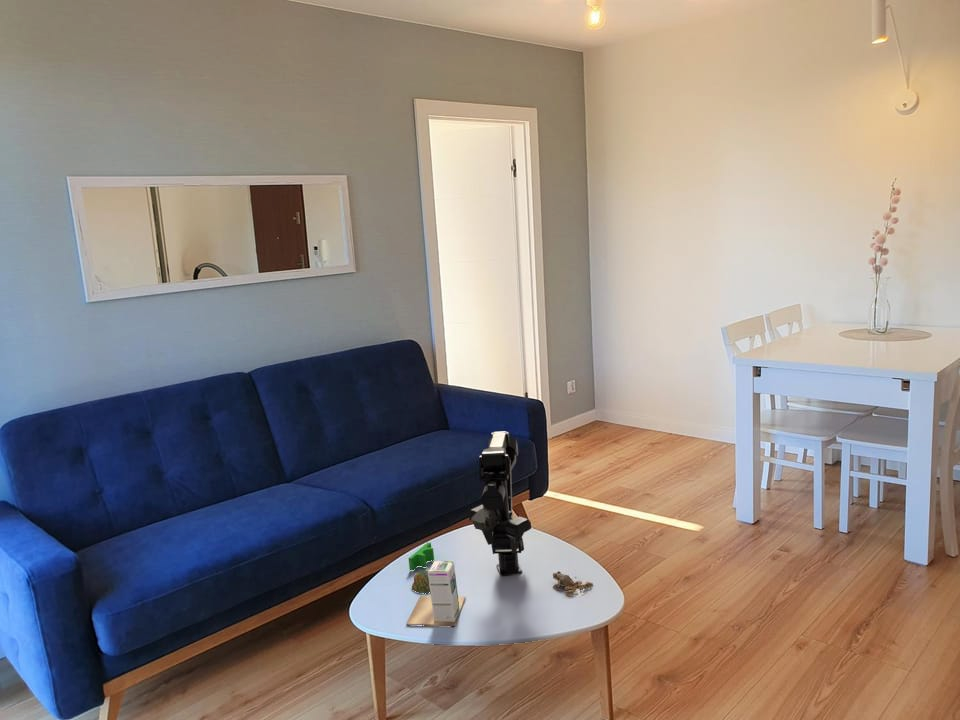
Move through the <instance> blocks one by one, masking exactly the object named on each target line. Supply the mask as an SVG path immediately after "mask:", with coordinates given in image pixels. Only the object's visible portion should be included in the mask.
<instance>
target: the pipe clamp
mask: <svg viewBox="0 0 960 720" xmlns="http://www.w3.org/2000/svg"><path fill="white" fill-rule="evenodd" d="M431 560H432V561H433V560H434V561H435V554H434V548H433V547H432V543H431V542H426V543H425V544H424V545H423V546H422V547H420V548H419V549H418V550H417V551H415V552H414V553H413V554H411V556H409V557H408V567H409V571H410V570H414V569H415V568H416V567H417V566H422V567H426V566H427V564H428V563H426V562H427V561H431ZM427 567H428V566H427Z"/></svg>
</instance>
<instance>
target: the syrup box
mask: <svg viewBox="0 0 960 720" xmlns="http://www.w3.org/2000/svg"><path fill="white" fill-rule="evenodd" d="M427 571H428V577H429V585H430V596H431V601H432V609H433V617H434V621H438V622H455V619H456V617H457V615H458V613H459V611H460V609H459V601H458V597H459V595H458V586H457V578H456V576H457V575H456V570H455V562H454V561H450V560H436V561H435V560H434V562H432V564H431V566H430V568H429V569H428V570H427Z"/></svg>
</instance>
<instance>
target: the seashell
mask: <svg viewBox="0 0 960 720" xmlns="http://www.w3.org/2000/svg"><path fill="white" fill-rule="evenodd" d="M428 571H429V570H421V571H418V572H416V573H415V574H414V575H413V583H412V585H411V587H412V590H414V591H416V592H419V593H424V594H425V593H429V592H430V585H429V577H428ZM412 590H411V591H412ZM414 591H413V592H414ZM419 593H418V594H419ZM424 594H423V595H424Z"/></svg>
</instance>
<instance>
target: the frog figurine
mask: <svg viewBox="0 0 960 720" xmlns="http://www.w3.org/2000/svg"><path fill="white" fill-rule="evenodd" d="M570 577H571V578H570ZM573 577H574V578H573ZM576 578H577V579H578V576H569V574H563V573H561V571H557V572H553V573H552V579H554V580H556V581H557V583H555V584H554V585H553V586H552V587H551V588H552V589H553V590H559V589H560V586H563V589H564V590H562V593H564V594H565V596H569V597H575V596H576V595H577V594H578V597H581V595H582V596H584V595H585V594H587V593H588V592H586V593H585V594H584V593H583V592H582V591H584V590H583V589H589V588H590V589H591V588H593V586H594V583H593V582H592V581H589V580H587V581H586V580H584V584H583V582H582V580H581V581H580V580H575V581H574V580H573V579H576ZM585 582H586V583H585ZM590 589H589V590H590ZM578 590H579V591H580V592H579V591H578ZM581 590H582V591H581ZM575 592H577V593H575ZM584 592H585V591H584ZM581 593H582V594H581ZM580 594H581V595H580ZM574 595H575V596H574Z"/></svg>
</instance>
